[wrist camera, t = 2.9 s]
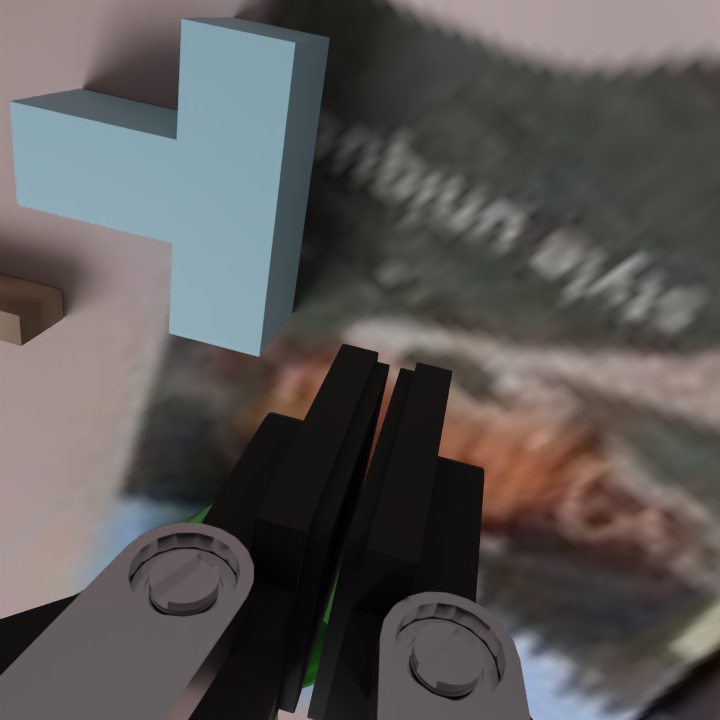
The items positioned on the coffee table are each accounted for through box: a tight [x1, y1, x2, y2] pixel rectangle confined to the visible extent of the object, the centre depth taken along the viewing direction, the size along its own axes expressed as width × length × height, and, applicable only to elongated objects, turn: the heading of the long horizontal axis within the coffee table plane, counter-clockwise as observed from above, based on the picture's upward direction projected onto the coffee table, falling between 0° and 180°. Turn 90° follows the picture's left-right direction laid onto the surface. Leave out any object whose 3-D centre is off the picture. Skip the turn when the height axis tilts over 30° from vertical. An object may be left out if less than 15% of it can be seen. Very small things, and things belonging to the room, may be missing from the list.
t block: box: [10, 17, 330, 357], centre depth 21 cm, size 8×9×4 cm
